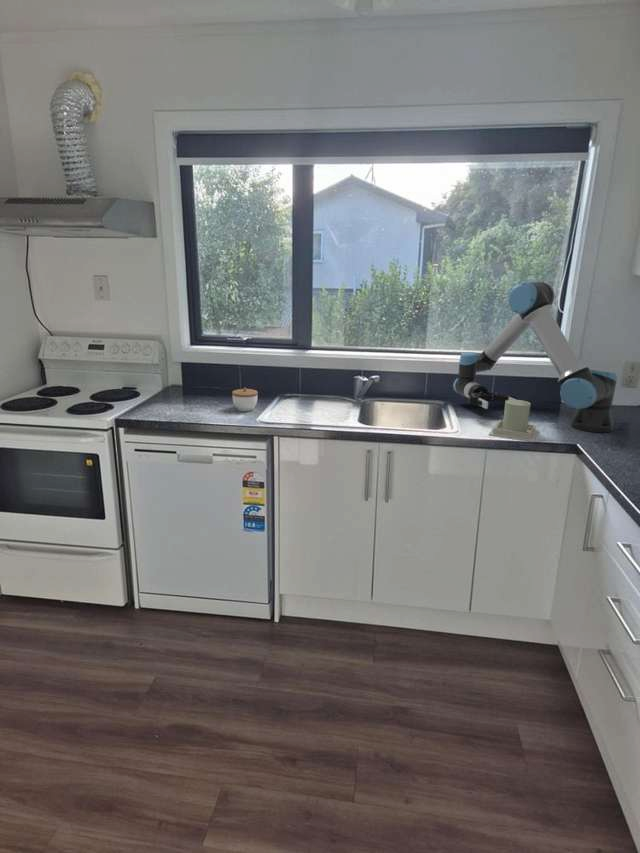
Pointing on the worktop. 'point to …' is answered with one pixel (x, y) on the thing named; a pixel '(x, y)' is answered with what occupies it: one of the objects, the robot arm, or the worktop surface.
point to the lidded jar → (244, 399)
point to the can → (516, 415)
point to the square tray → (514, 432)
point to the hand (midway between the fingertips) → (502, 404)
